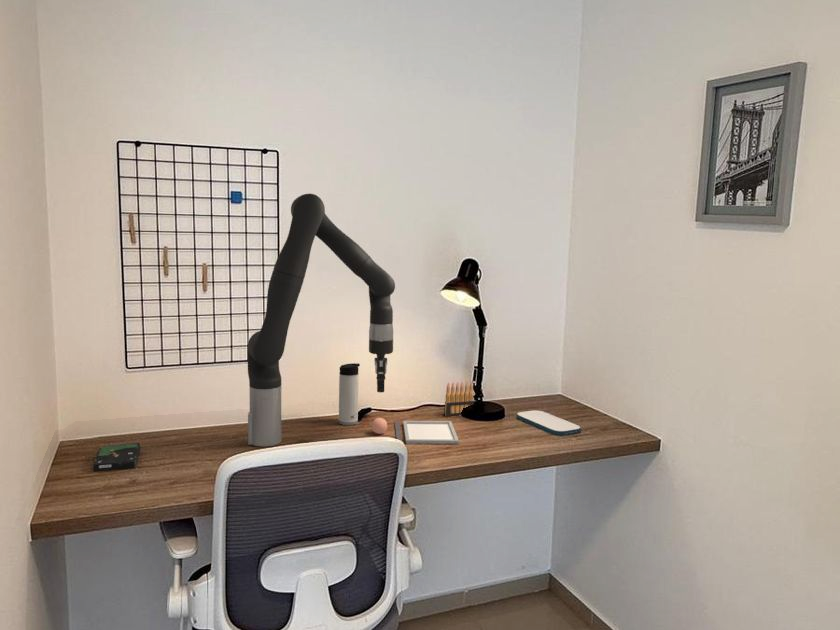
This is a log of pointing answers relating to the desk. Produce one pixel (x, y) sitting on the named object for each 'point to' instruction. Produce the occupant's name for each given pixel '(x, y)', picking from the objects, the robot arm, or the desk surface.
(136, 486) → the desk surface
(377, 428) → the rubber ball
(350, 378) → the travel mug
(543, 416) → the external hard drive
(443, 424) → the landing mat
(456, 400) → the ammunition clip
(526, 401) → the desk surface
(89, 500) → the desk surface
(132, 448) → the disk drive
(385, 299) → the robot arm
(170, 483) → the desk surface
